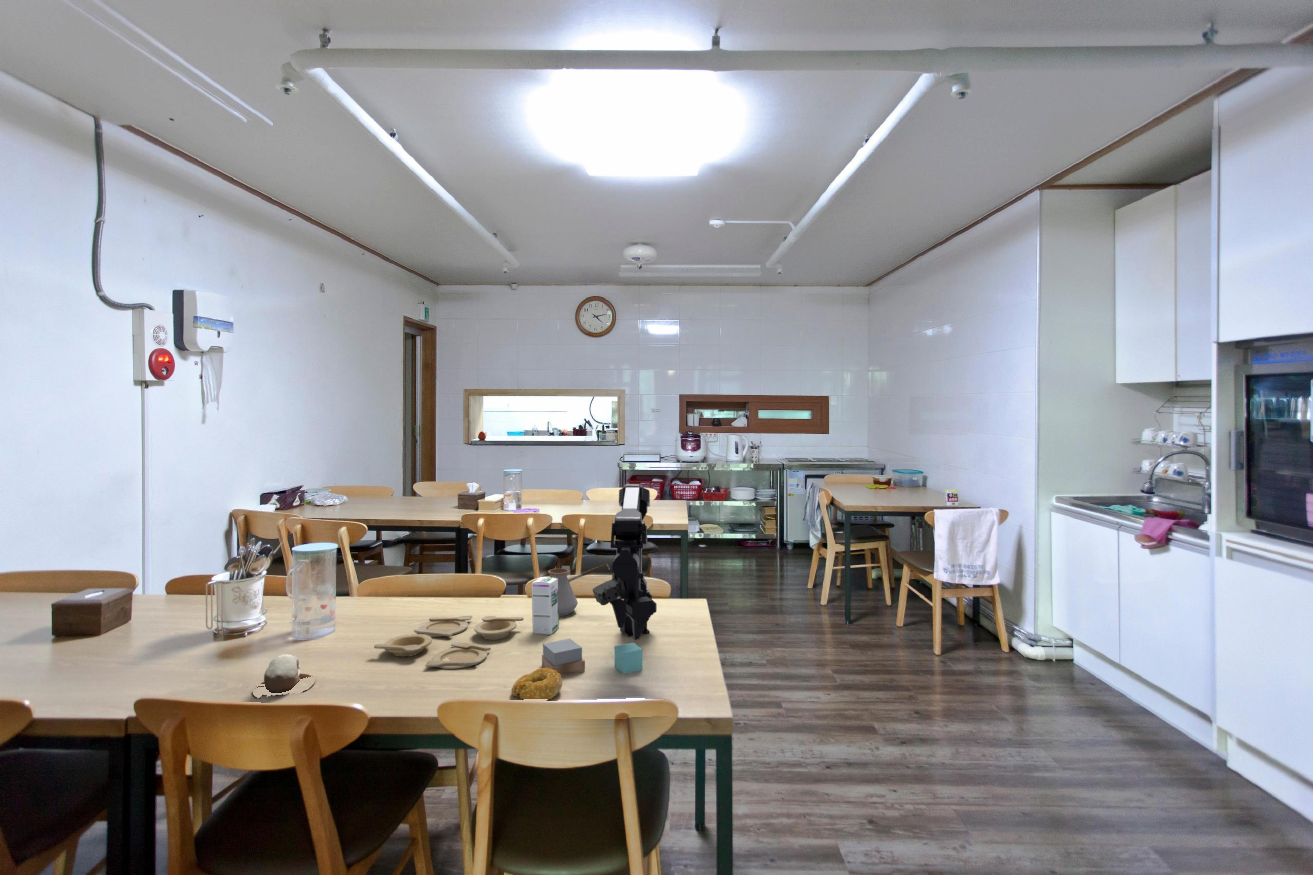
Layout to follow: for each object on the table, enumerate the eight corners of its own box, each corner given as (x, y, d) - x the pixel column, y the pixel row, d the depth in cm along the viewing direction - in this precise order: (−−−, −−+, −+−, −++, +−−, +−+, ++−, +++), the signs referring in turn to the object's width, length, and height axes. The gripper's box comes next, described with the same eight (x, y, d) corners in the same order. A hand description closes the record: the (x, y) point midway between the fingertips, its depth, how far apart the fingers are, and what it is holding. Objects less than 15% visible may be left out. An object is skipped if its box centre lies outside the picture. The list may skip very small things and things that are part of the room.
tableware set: (437, 619, 187) (437, 606, 187) (530, 626, 181) (529, 612, 181) (359, 666, 153) (358, 649, 153) (469, 676, 147) (469, 659, 147)
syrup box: (551, 634, 173) (551, 582, 173) (531, 633, 174) (531, 581, 174) (559, 628, 179) (558, 577, 178) (539, 626, 180) (539, 576, 179)
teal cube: (633, 662, 154) (633, 642, 154) (642, 670, 150) (642, 649, 150) (614, 666, 152) (614, 645, 152) (623, 674, 147) (623, 652, 147)
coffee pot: (537, 618, 187) (537, 568, 186) (542, 606, 198) (542, 559, 198) (609, 617, 188) (609, 567, 187) (610, 605, 199) (610, 558, 199)
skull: (257, 675, 144) (291, 639, 145) (295, 702, 146) (328, 666, 147) (237, 697, 132) (274, 657, 134) (278, 725, 134) (314, 686, 136)
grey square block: (569, 650, 155) (569, 638, 155) (582, 659, 149) (582, 647, 149) (543, 656, 152) (543, 643, 151) (554, 665, 146) (554, 653, 146)
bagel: (519, 683, 142) (519, 662, 142) (567, 685, 141) (567, 665, 141) (504, 703, 133) (504, 681, 132) (555, 707, 132) (555, 684, 131)
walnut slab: (573, 661, 156) (573, 649, 156) (584, 673, 149) (584, 660, 149) (542, 667, 152) (541, 654, 152) (552, 679, 145) (552, 666, 145)
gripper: (582, 563, 155) (582, 626, 155) (612, 582, 138) (612, 652, 139) (624, 559, 160) (624, 619, 160) (657, 576, 143) (657, 644, 144)
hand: (628, 633), depth 151 cm, fingers open, 9 cm apart
